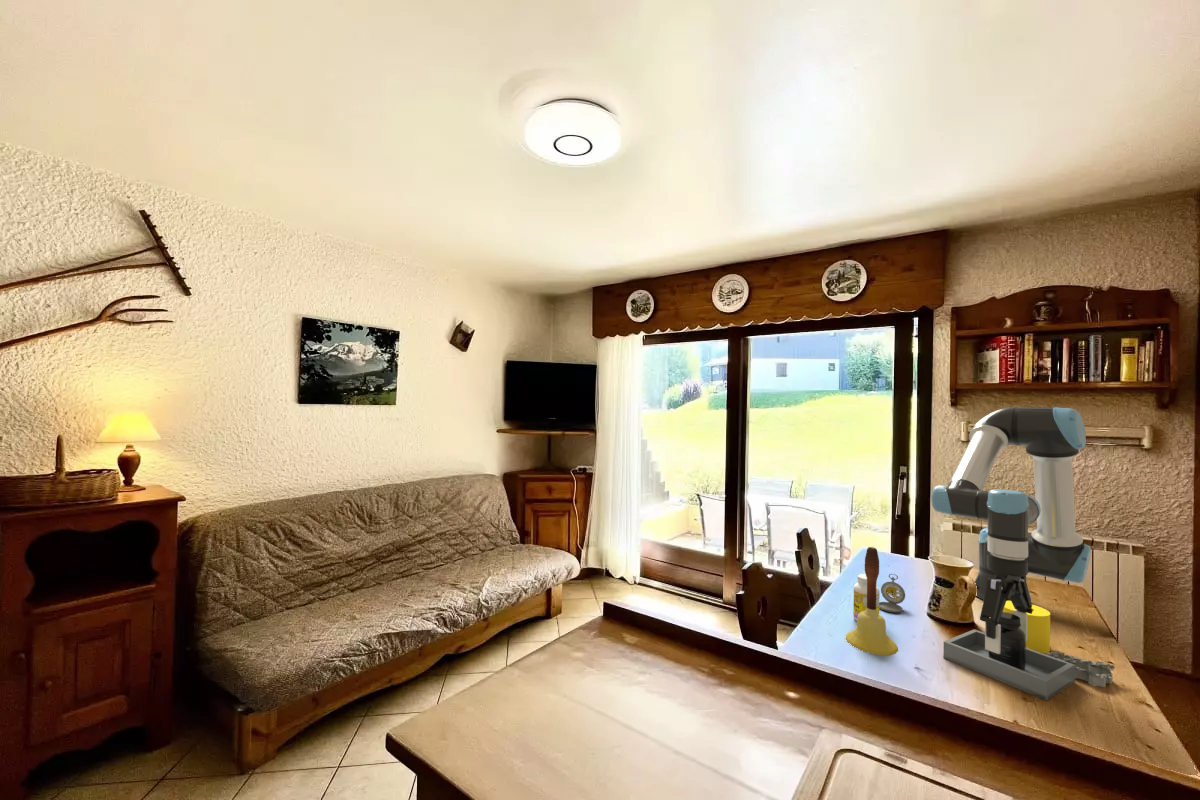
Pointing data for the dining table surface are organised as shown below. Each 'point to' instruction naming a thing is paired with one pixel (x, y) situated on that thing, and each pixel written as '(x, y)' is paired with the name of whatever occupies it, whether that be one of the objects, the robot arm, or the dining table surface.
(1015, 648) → the supplement bottle
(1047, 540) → the robot arm
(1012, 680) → the tray
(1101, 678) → the egg carton
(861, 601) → the supplement bottle
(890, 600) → the pocket watch
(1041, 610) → the yellow toilet roll
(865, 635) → the handbell
